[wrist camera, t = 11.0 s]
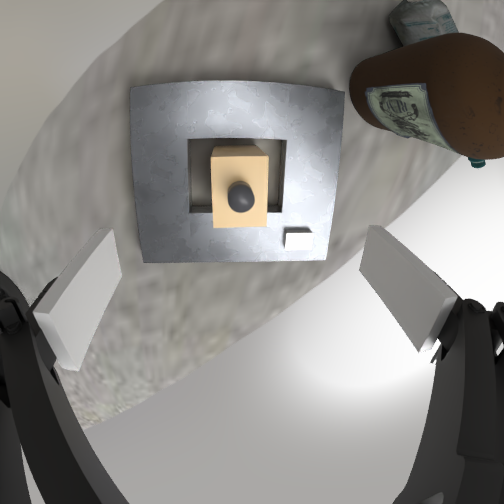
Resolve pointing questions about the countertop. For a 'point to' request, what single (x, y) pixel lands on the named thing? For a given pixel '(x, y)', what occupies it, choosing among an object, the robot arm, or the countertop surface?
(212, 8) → the countertop surface
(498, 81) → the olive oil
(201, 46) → the countertop surface
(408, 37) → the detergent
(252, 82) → the socket plate
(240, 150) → the plug
